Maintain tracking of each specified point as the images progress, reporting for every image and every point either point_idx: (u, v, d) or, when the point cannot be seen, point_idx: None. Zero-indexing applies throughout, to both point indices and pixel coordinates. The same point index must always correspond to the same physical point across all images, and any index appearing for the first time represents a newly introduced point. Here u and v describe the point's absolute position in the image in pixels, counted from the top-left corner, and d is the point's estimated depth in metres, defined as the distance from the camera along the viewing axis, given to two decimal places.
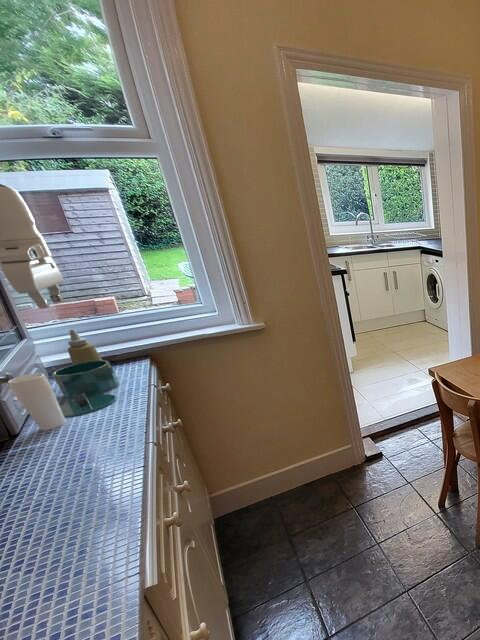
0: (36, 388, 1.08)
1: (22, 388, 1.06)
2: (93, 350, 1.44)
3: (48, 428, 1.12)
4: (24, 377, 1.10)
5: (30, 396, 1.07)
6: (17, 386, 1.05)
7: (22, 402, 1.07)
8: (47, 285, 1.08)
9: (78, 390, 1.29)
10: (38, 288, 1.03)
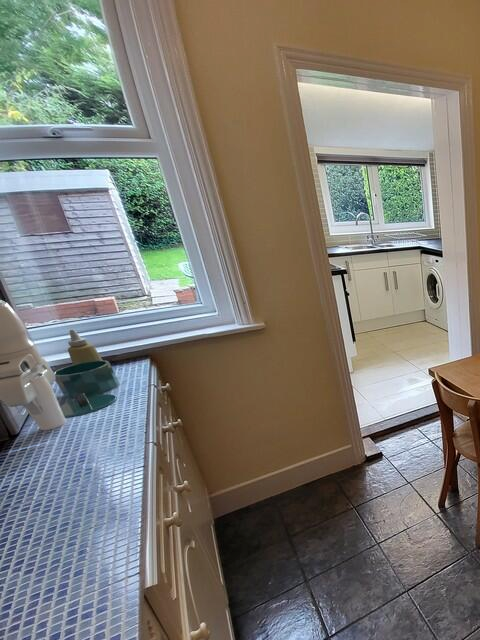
0: (36, 388, 1.08)
1: None
2: (93, 350, 1.44)
3: (48, 428, 1.12)
4: None
5: None
6: None
7: None
8: None
9: (78, 390, 1.29)
10: (30, 399, 1.04)
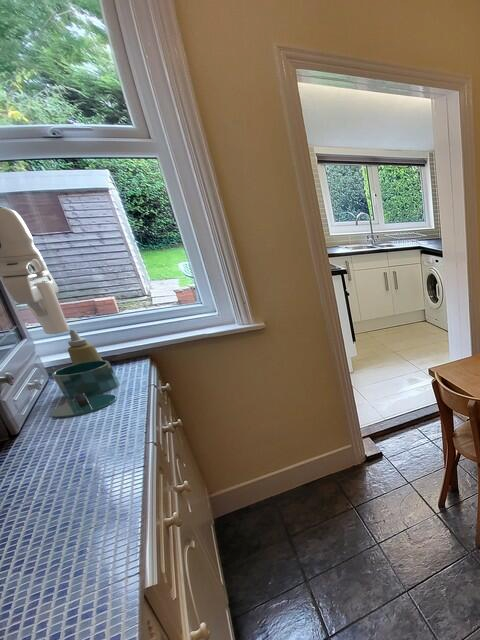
0: (42, 292, 1.19)
1: None
2: (93, 350, 1.44)
3: (52, 331, 1.23)
4: None
5: None
6: None
7: None
8: None
9: (78, 390, 1.29)
10: (36, 299, 1.15)
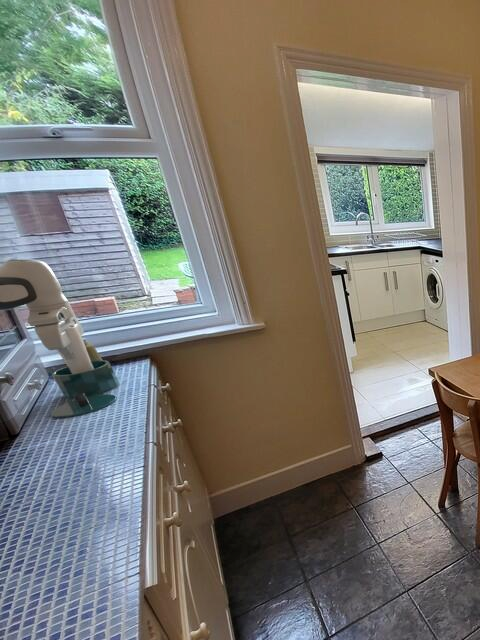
0: (70, 337, 1.27)
1: None
2: (93, 350, 1.44)
3: (79, 372, 1.31)
4: None
5: None
6: None
7: None
8: None
9: (78, 390, 1.29)
10: (65, 345, 1.23)
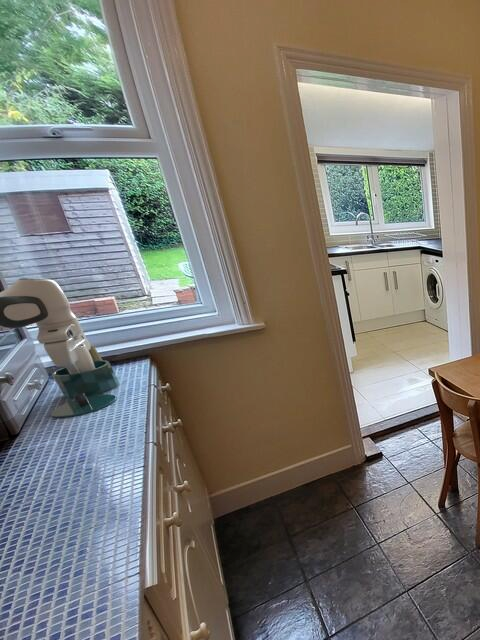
0: (79, 356, 1.30)
1: None
2: (93, 350, 1.44)
3: None
4: None
5: None
6: None
7: None
8: None
9: (78, 390, 1.29)
10: (73, 361, 1.26)
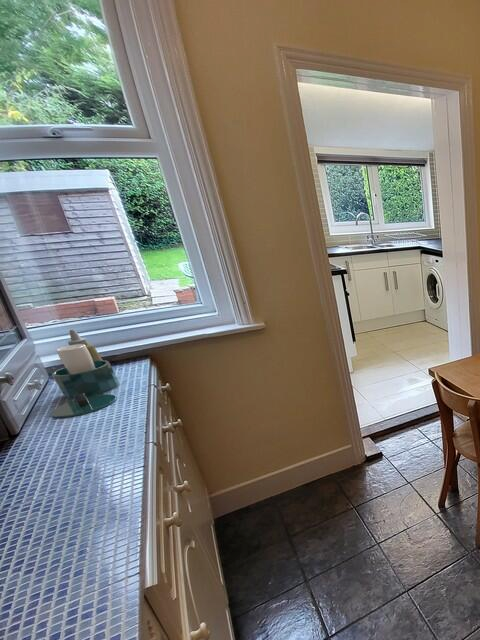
0: (79, 356, 1.30)
1: (68, 355, 1.28)
2: (93, 350, 1.44)
3: None
4: (68, 347, 1.32)
5: (74, 362, 1.29)
6: (64, 354, 1.27)
7: (68, 367, 1.29)
8: None
9: (78, 390, 1.29)
10: None
